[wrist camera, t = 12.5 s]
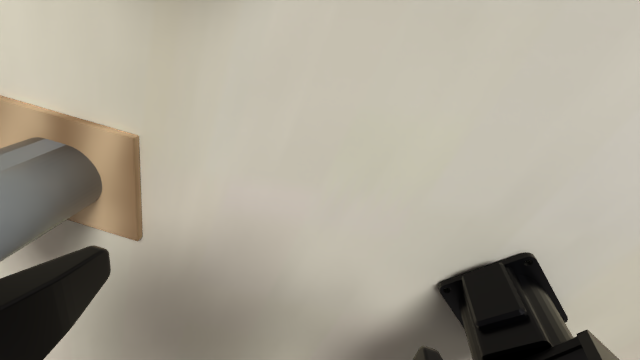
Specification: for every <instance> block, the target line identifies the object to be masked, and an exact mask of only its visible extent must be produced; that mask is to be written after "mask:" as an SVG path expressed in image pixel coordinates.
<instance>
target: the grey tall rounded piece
mask: <svg viewBox="0 0 640 360" xmlns="http://www.w3.org/2000/svg"><path fill="white" fill-rule="evenodd" d="M101 192H102V181H101V177H100V175H99V172H98V171H97V169H96V167H95V166H94V164H93V163H92V162H91V161H90V160H89V159H88V158H87V157H86V156H85V155H84V154H83V153H82V152H80V151H79V150H77V149H75V148H73V147H71V146H69V145H66V144H62V143H59V142H55V141H52V140H49V139H45V138H40V137H34V138H30V139H27V140H24V141H21V142H18V143H15V144H12V145H9V146H6V147H3V148H0V262H1V261H2V260H4V259H5V258H7V257H9V256H10V255H12V254H13V253H15V252H16V251H18V250H20V249H21V248H23V247H24V246H26V245H27V244H29V243H31V242H32V241H34V240H35V239H37V238H38V237H40V236H42V235H43V234H45V233H46V232H48V231H49V230H51V229H53V228H54V227H56V226H57V225H59V224H60V223H62V222H63V221H65V220H67V219H68V218H70V217H71V216H73V215H74V214H76V213H78V212H79V211H81V210H82V209H84V208H85V207H87V206H89V205H90V204H92V203H93V202H95V201H96V200H97V199H98V198H99V197H100V195H101Z"/></svg>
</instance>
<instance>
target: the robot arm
mask: <svg viewBox="0 0 640 360" xmlns="http://www.w3.org/2000/svg"><path fill="white" fill-rule="evenodd" d="M526 260H530V261H528V262H525V261H526ZM110 271H111V269H110V259H109V252H108V251H107V250H106V249H104V248H101V247H97V246H89V247H86V248H84V249H81V250H78V251H75V252H73V253H70V254H67V255H64V256H62V257H59V258H56V259H53V260H50V261H48V262H45V263H42V264H39V265H37V266H34V267H31V268H28V269H26V270H23V271H20V272H17V273H15V274H12V275H9V276H6V277H3V278H1V279H0V360H43V359H44V358H45V357H46V356H47V355H48V354H49V353H50V351H51V350H52V349H53V348H54V347H55V346H56V345H57V344H58V342H59V341H60V340H61V339H62V338H63V337H64V336H65V334H66V333H67V332H68V331H69V330H70V329H71V327H72V326H73V325H74V324H75V322H76V321H77V320H78V318H79V317H80V316H81V314H82V313H83V312H84V310H85V309H86V308H87V306H88V305H89V303H90V302H91V301H92V299H93V298H94V297H95V295H96V294H97V293H98V291H99V290H100V289H101V287H102V286H103V284H104V283H105V282H106V280H107V279H108V277H109V275H110ZM444 288H448V289H444ZM439 291H440V293H441V295H442V296H443V298H444V299H445V301H446V302H447V303H448V305H449V306H450V308H451V309H452V311H453V312H454V314H455V315H456V317H457V318H458V320H459V321H460V323H461V324H462V326H463V327H464V329H465V332H466V336H467V340H468V343H469V347H470V351H471V355H472V359H473V360H619V359H618V358H617V357H616V356H615V355H614V354H613V353H612V352H611V351H610V350H609V349H608V348H606V347H605V346H604V345H603V344H602V343H601V342H600V341H599V340H598V339H597V338H596V337H595V336H594V335H593V334H592V333H591V332H589V331H588V330H585V331H583V332H580V333H578V334H577V337H574V338H573V336H572V334H571V333H570V331H569V329H568V328H567V326H566V324H565V323H566V322H567V320H568V318H567V316H566V314H565V312H564V310H563V308H562V306H561V304H560V302H559V301H558V299H557V297H556V295H555V293H554V291H553V289H552V288H551V286H550V284H549V282H548V280H547V278H546V276H545V274H544V273H543V271H542V269H541V267H540V265H539V263H538V261H537V260H536V258H535V256H534V255H533V254H531V253H523V254H520V255H517V256H514V257H511V258H508V259H506V260H503V261H500V262H497V263H494V264H491V265H488V266H486V267H483V268H480V269H477V270H474V271H471V272H468V273H466V274H463V275H460V276H457V277H454V278H451V279H448V280H446V281H443V282H441V283H440V284H439ZM413 360H443V359H442V357H441V356H440V354H439V352H438V351H437V350H435V349H432V348H428V347H425V346H422V347H420V349H419V350H418V352H417V354H416V355H415V357H414V359H413Z"/></svg>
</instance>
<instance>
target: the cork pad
mask: <svg viewBox="0 0 640 360" xmlns="http://www.w3.org/2000/svg"><path fill="white" fill-rule="evenodd" d="M34 137H40V138H45V139H49V140H52V141H55V142H59V143H62V144H66V145H69V146H71V147H73V148H75V149H77V150H79V151H80V152H82V153H83V154H84V155H85V156H86V157H87V158H88V159H89V160H90V161H91V162H92V163H93V164H94V166H95V167H96V169H97V171H98V172H99V175H100V177H101V181H102V192H101V195H100V197H99V198H98V199H97V200H96V201H95V202H93V203H92V204H90V205H89V206H87V207H85V208H84V209H82V210H81V211H79V212H78V213H76V214H74V215H73V216H71V217H70V218H68V219H67V220H70V221H74V222H77V223H80V224H83V225H87V226H90V227H93V228H96V229H100V230H103V231H106V232H109V233H113V234H116V235H119V236H122V237H126V238H129V239H132V240H135V241H138V240H139V239H140V238H142V213H141V186H140V159H139V136H138V135H134V134H131V133H127V132H124V131H121V130H117V129H114V128H110V127H107V126H103V125H100V124H96V123H93V122H90V121H86V120H83V119H79V118H76V117H72V116H69V115H66V114H62V113H59V112H55V111H52V110H48V109H45V108H41V107H38V106H35V105H31V104H28V103H24V102H21V101H17V100H14V99H11V98H7V97H4V96H0V148H3V147H6V146H9V145H12V144H15V143H18V142H21V141H24V140H27V139H30V138H34Z"/></svg>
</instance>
